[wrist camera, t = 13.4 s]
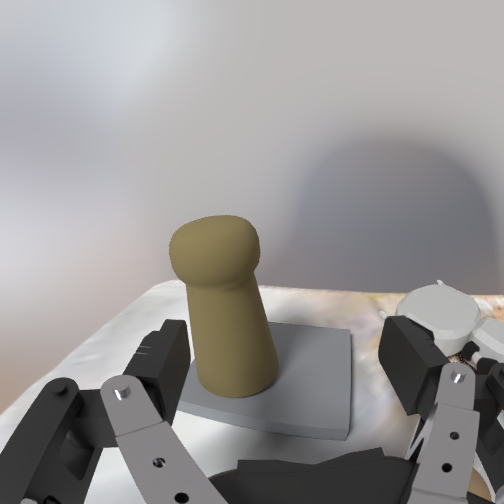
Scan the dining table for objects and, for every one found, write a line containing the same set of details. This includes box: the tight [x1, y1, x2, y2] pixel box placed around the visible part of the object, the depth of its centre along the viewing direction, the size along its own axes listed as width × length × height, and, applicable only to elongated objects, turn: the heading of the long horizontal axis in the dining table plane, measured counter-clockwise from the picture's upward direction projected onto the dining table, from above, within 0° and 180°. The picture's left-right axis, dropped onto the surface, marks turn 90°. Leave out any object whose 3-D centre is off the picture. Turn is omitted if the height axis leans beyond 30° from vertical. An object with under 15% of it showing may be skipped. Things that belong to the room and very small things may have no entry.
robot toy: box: [380, 280, 504, 375], centre depth 21 cm, size 12×4×15 cm
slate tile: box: [177, 322, 351, 441], centre depth 22 cm, size 12×12×1 cm
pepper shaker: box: [169, 215, 279, 398], centre depth 18 cm, size 6×6×11 cm
